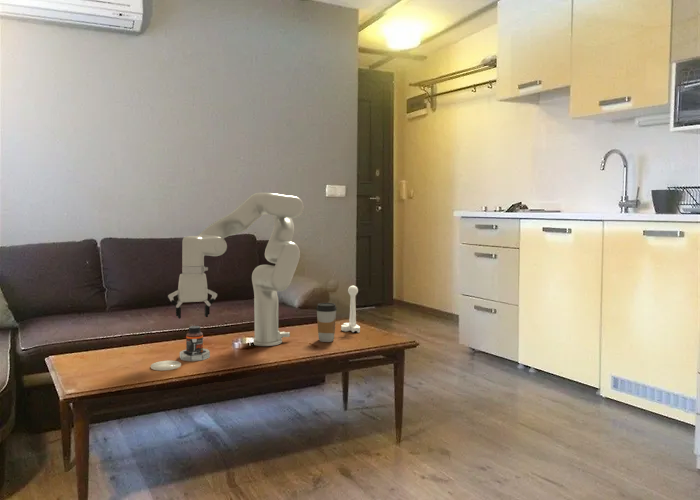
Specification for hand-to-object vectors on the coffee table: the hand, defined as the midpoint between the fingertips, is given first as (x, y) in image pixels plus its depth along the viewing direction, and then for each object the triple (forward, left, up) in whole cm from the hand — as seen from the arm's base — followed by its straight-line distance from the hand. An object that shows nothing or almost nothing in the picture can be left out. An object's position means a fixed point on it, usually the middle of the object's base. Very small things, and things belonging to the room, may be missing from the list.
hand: (192, 317), depth 212 cm
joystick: (-71, -19, -15) cm, 75 cm away
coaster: (+10, +8, -15) cm, 20 cm away
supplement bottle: (-1, 0, -15) cm, 15 cm away
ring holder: (-1, 0, -15) cm, 15 cm away
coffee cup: (-55, -6, -15) cm, 57 cm away
